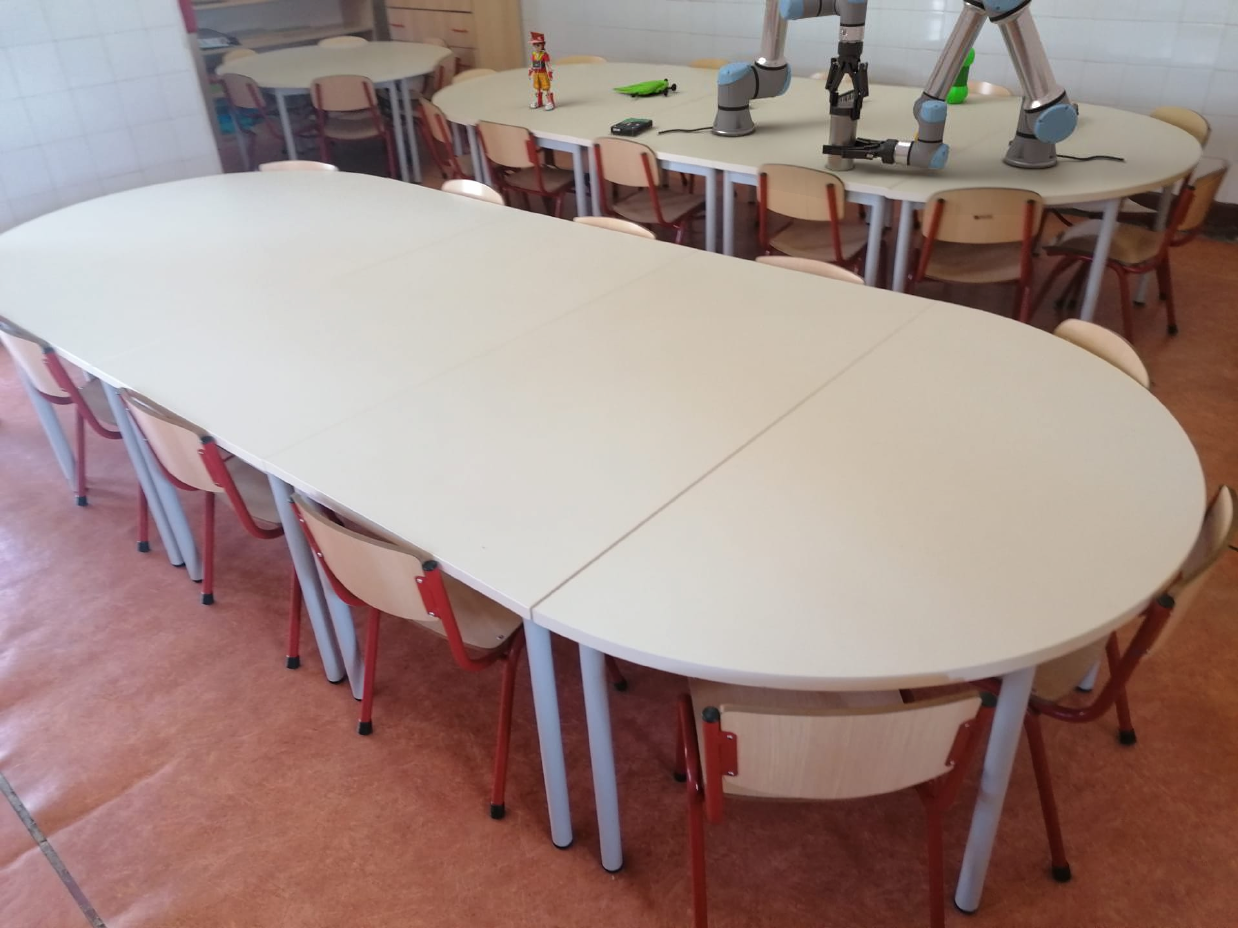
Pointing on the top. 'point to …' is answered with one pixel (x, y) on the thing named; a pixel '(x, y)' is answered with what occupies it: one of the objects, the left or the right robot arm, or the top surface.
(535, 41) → the toy
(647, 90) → the toy
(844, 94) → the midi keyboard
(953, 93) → the plastic bottle
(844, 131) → the jar
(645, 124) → the disk drive
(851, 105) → the lid
